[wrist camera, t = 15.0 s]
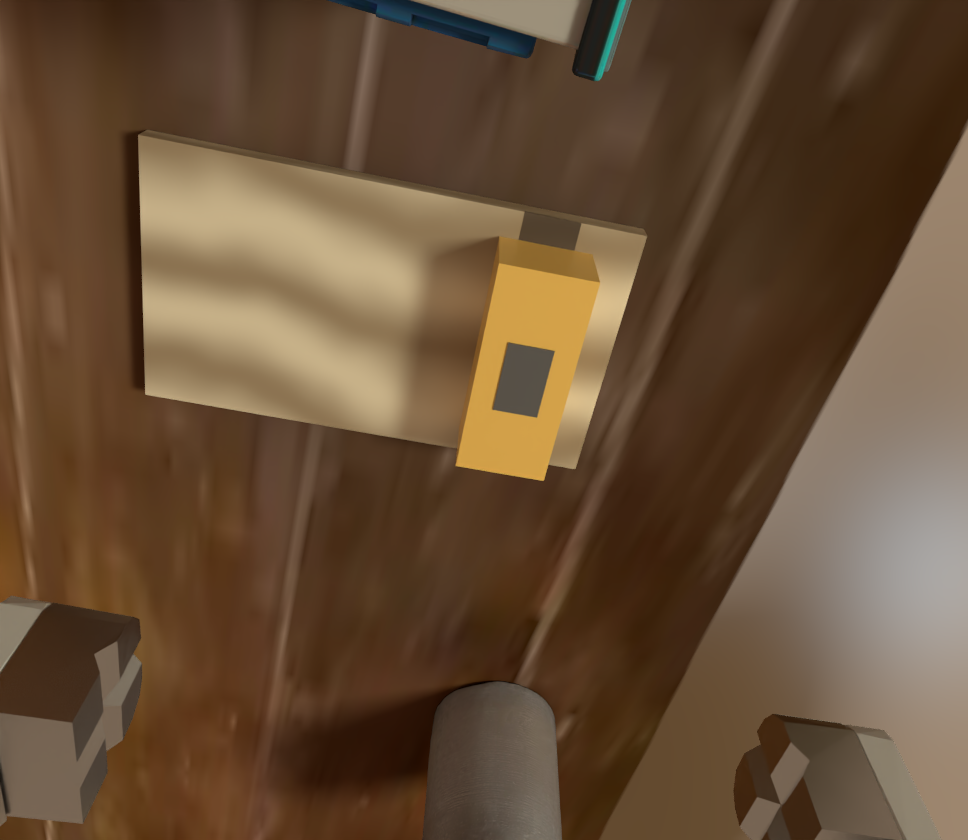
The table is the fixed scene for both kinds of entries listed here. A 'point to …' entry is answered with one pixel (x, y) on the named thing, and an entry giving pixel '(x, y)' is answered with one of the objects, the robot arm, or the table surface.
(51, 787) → the robot arm
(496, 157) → the table surface
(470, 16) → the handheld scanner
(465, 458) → the block
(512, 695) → the pillar candle
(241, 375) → the plywood panel
